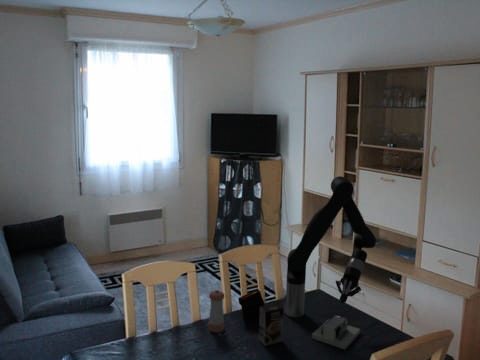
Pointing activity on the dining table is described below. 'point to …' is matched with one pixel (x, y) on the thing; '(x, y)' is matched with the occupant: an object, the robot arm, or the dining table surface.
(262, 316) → the coffee box
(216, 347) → the dining table surface
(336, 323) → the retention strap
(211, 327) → the pepper shaker
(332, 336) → the grey square stand
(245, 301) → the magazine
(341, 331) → the heat sink
